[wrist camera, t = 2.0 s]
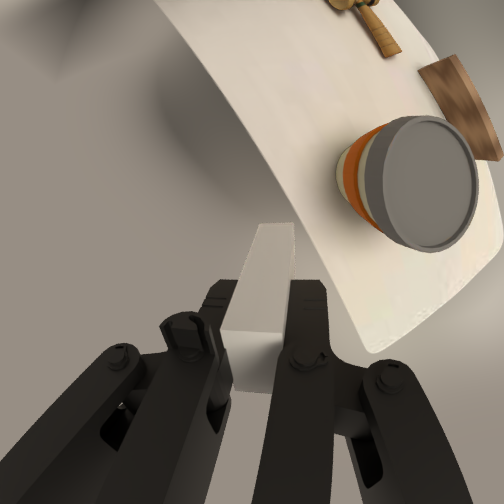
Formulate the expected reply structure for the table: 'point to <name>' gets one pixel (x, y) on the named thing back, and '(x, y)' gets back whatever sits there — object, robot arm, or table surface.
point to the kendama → (371, 24)
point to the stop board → (462, 106)
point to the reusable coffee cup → (412, 181)
